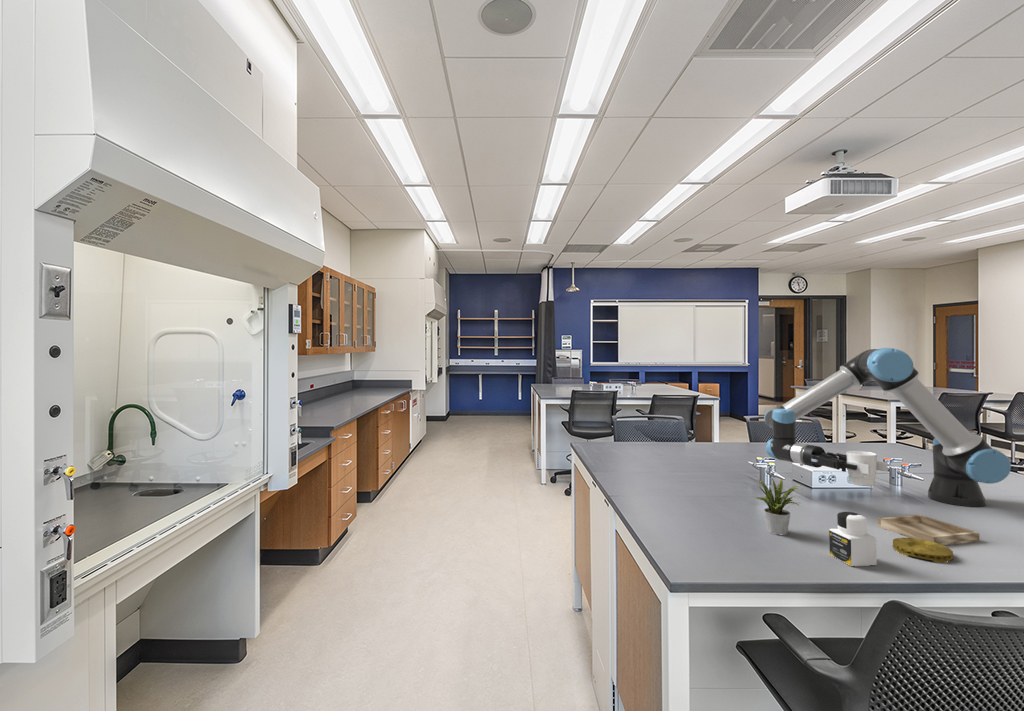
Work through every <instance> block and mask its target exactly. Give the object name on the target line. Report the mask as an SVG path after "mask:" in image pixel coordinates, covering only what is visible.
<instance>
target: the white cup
mask: <svg viewBox="0 0 1024 711" xmlns="http://www.w3.org/2000/svg"><path fill="white" fill-rule="evenodd" d="M845 452H846V453H845V455H847V461H850V462H856V463H861V464H866V465H870V474H866V473H861V472H856V471H851V470H847V473H848V474H847V475H848V483H849V484H850V485H854V486H860V487H867V488H869V487H875V486H876V478H877V470H876V465H877V461H878V459H877V456H878V454H877V453H876V452H875V453H874V452H870V451H864V450H863V451H862V450H848V451H845Z"/></svg>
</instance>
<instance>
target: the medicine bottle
mask: <svg viewBox="0 0 1024 711" xmlns="http://www.w3.org/2000/svg"><path fill="white" fill-rule="evenodd" d="M836 517H837V519H836V520H837V528H830V529H828V537H829V538H828V539H829V556H830V555H831V556H830V557H832V556H833V557H832V558H834V557H835V558H834V559H836V558H837V559H836V560H838V559H839V560H838V561H840V562H841V561H843V562H844V563H843V562H842V563H843V564H845V563H846V565H847V564H848V565H847V566H849V565H850V566H849V567H851V566H855V567H868V566H869V567H870V565H875V566H878V564H877V561H878V560H877V538H876V536H874V535H871V534H869V533H867V517H865V515H863V514H860V513H857V512H854V511H853V512H852V511H840V512H838V513H837V516H836Z"/></svg>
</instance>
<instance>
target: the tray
mask: <svg viewBox="0 0 1024 711" xmlns="http://www.w3.org/2000/svg"><path fill="white" fill-rule="evenodd" d="M878 526H879V528H881V529H885V530H888V531H889V532H892V531H893V532H892V533H895V532H897V533H896V534H898V533H899V534H898V535H901V534H902V535H901V536H904V535H905V536H904V537H906V536H907V537H906V538H909V537H910V538H915V539H921V540H926V541H930V542H934V543H937V544H940V545H943V546H949V545H948V544H951V545H958V544H957V543H961V544H968V542H971V543H979V542H980V532H978V531H975V530H972V529H968V528H965V527H961V526H958V525H955V524H952V523H948V522H945V521H942V520H938V519H935V518H932V517H928V516H926V515H922V514H911V515H900V516H890V517H879V518H877V527H878Z"/></svg>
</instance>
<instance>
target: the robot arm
mask: <svg viewBox="0 0 1024 711" xmlns="http://www.w3.org/2000/svg"><path fill="white" fill-rule="evenodd" d="M919 374H920V372H919V371H918V370H917V369H916V368H915V367H914V362H913V359H912V358H911V357H910V355H909V354H908V353H906V352H905V351H903V350H900V349H898V348H893V347H892V348H891V347H881V348H871V349H867V350H865V351H862V352H860V353H859V354H857V355H855V357H852V358H851V359H850V360H848V361H846V362H845V363H844V364H842V365H840V366H839V370H837V371H836V372H835V373H834V372H833V373H832V374H831V375H829V376H828V377H826V378H824V379H823V380H821V381H819V382H818V383H816V384H815V385H813V386H811V387H810V388H807V389H806V390H805V391H803V392H802V393H799V394H798V395H797V396H795V397H793V398H792V399H790V400H788V401H786V402H785V403H783V404H781V405H780V406H779V407H777V408H775V409H772V410H768V411H767V412H766V413H765V414H764V416H763V420H764V423H765V425H766V426H767V427H769V428H770V429H771V430H772V438H771V439H768V441H766V445H765V452H766V454H767V455H768V456H769V457H770V458H772V459H776V460H779V461H783V462H789V463H794V464H799V465H800V467H802V466H808V467H811V468H812V467H813V468H822V467H827V468H831V469H834V470H841V472H844V473H845V472H847V471H848V470H851V471H856V472H861V473H866V474H870V465H866V464H861V463H856V462H850V461H847V455H846V454H842V453H840V452H837V453H833V452H826V451H825V450H824V448H823V447H821V446H819V445H813V444H807V443H802V442H797V441H796V438H797V437H796V421H797V420H799V419H800V418H802V417H804V416H806V415H807V414H809V413H810V412H812V411H814V410H816V409H817V408H819V407H821V406H822V405H824V404H826V403H828V402H829V401H831V400H832V399H834V398H836V397H838V396H839V395H841V394H843V393H845V392H846V391H847V390H849V389H851V388H853V387H860V386H862V385H864V384H866V383H868V382H872V381H874V382H875V383H876V384H877V385H878V386H879V387H880V388H881V389H882V391H883V392H887V393H892V394H893V395H894V396H895V397H896V398H897V399H898V400H899V401H900V402H901V404H903V406H904V407H906V409H907V410H908V411H909V412H910V413H911V414H912V415H913V417H915V418H916V420H918V422H919V423H921V425H922V426H923V427H924V428H925V429H926V430H927V431H928V432H929V433H930V434H931V436H932V437H933V440H932V441H933V442H932V445H931V446H932V458H933V459H932V464H933V478H932V480H931V482H930V484H929V488H928V490H927V497H928V498H929V499H930V500H933V501H937V502H940V503H943V504H950V505H957V506H962V507H963V506H964V507H983V506H985V505H986V498H985V496H984V493H983V492H982V488H981V486H980V484H979V483H982V484H997V483H1000V482H1002V481H1003V480H1006V479H1007V477H1009V474H1010V473H1011V469H1012V462H1011V460H1010V458H1009V457H1008V456H1007V455H1006V454H1005V453H1003V452H1002V451H1000V450H998V449H995V448H993V447H991V445H989V443H988V442H987V441H986V440H985V439H983V437H982V436H981V435H979V434H972V433H971V432H970V431H969V430H968V429H967V428H966V427H965V426H964V425H963V424H962V423H961V422H960V421H959V420H958V419H957V418H956V416H954V415H953V413H951V412H950V410H949V409H948V408H947V407H945V405H943V403H941V401H940V400H939V399H938V398H937V397H936V396H935V395H934V394H933V393H932V392H931V391H930V390H929V389H928V388H927V387H926V386H925V385H924V384H923V383H922V381H920V380H919ZM876 471H881V472H885V473H886V472H888V462H884V461H878V460H877V465H876Z"/></svg>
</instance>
